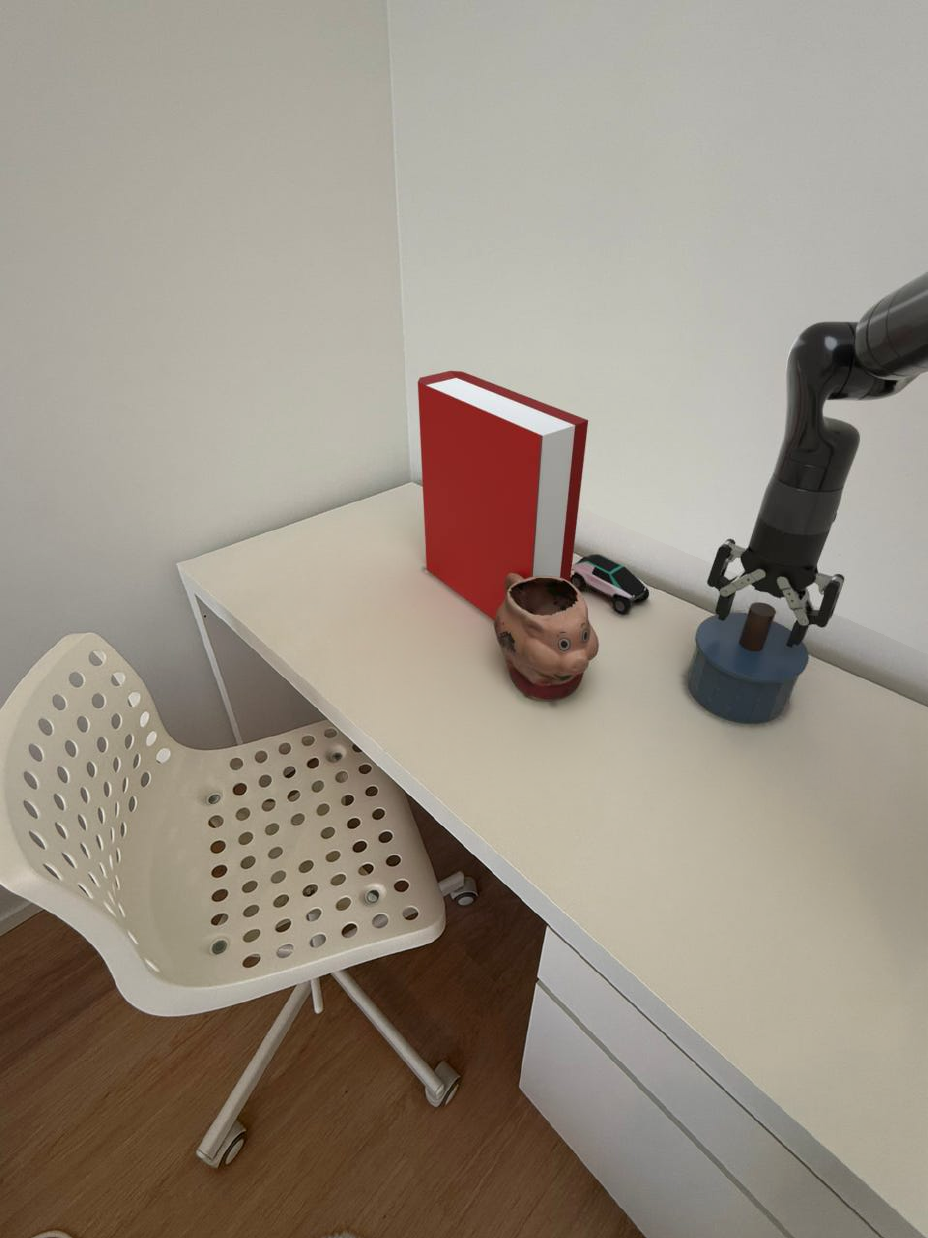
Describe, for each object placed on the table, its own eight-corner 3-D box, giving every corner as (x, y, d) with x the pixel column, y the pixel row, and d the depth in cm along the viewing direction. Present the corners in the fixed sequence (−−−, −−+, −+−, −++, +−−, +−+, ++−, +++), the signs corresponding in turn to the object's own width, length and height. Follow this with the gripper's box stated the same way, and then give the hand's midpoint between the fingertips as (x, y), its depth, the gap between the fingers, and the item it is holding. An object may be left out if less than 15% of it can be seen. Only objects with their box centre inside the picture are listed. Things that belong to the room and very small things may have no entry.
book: (565, 624, 100) (588, 420, 80) (526, 644, 96) (540, 435, 76) (458, 551, 117) (456, 369, 97) (422, 566, 113) (412, 379, 94)
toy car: (589, 572, 111) (593, 545, 108) (648, 602, 104) (653, 574, 101) (567, 585, 108) (570, 558, 105) (625, 617, 101) (630, 589, 98)
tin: (798, 685, 88) (816, 642, 84) (766, 739, 81) (784, 695, 76) (709, 648, 95) (721, 606, 90) (672, 694, 87) (683, 651, 83)
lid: (819, 646, 84) (837, 604, 80) (785, 703, 76) (803, 660, 72) (718, 607, 91) (729, 567, 87) (676, 656, 83) (687, 614, 79)
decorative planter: (464, 646, 95) (463, 566, 87) (532, 621, 100) (538, 543, 92) (542, 733, 81) (550, 648, 73) (617, 699, 86) (633, 616, 78)
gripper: (719, 508, 73) (690, 622, 83) (855, 549, 66) (805, 669, 76) (744, 486, 78) (713, 596, 87) (874, 522, 70) (824, 638, 80)
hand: (756, 630), depth 82 cm, fingers open, 8 cm apart
